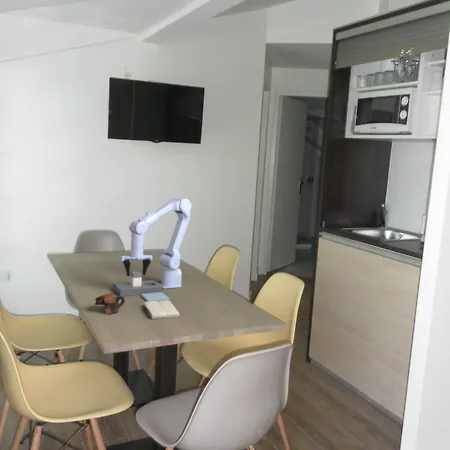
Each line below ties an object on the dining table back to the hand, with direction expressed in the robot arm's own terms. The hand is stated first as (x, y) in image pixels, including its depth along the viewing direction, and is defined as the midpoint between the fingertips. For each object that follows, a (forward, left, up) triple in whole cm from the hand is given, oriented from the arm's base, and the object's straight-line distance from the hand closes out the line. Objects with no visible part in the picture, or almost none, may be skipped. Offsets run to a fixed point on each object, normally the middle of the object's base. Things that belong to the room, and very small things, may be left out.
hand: (136, 275), depth 230 cm
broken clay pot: (+18, +24, -8) cm, 31 cm away
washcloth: (-1, +31, -8) cm, 32 cm away
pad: (-5, +13, -8) cm, 16 cm away
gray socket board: (-1, 0, -8) cm, 8 cm away
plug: (0, 0, -8) cm, 8 cm away
